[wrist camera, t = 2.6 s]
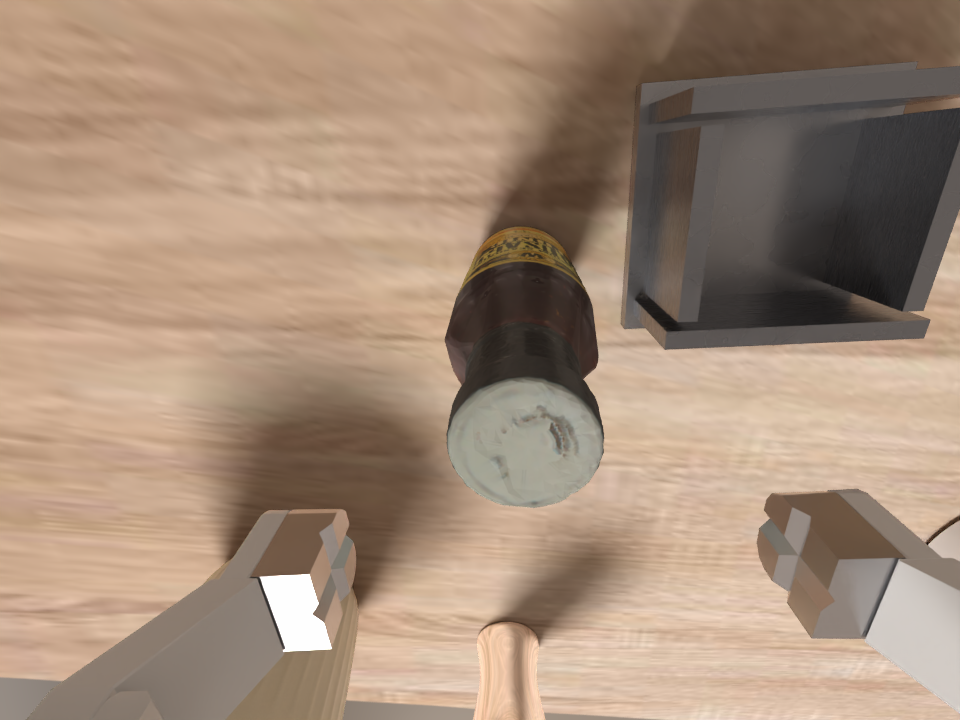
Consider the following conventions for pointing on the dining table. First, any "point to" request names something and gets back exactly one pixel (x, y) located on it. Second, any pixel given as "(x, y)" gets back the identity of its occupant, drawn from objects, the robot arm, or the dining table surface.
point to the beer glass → (508, 673)
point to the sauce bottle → (523, 373)
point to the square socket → (790, 205)
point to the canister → (305, 677)
